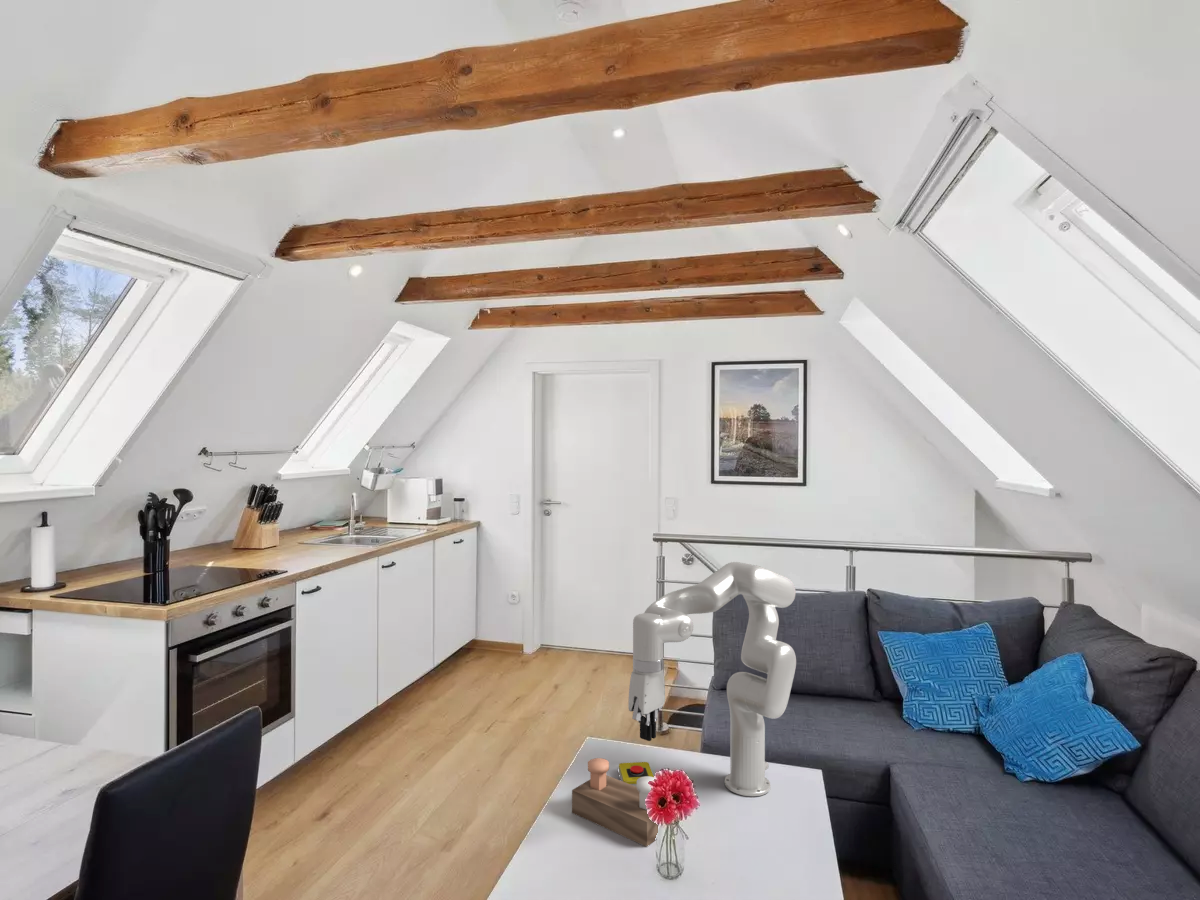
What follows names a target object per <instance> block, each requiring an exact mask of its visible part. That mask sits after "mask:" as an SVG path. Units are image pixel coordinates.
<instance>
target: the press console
mask: <svg viewBox="0 0 1200 900" xmlns="http://www.w3.org/2000/svg"><path fill="white" fill-rule="evenodd" d="M571 814H573V815H576V816H578V817H580V818H582V819H584V820H587V821H589V822H590V823H593V824H596V825H597V826H600V827H602V828H604V829H606V830H609V831H611V832H613V833H615V834H618V835H620V836H622V837H623V838H626V839H628V840H631V841H633V842H635V843H638V844H639V843H640V845H641V844H642V846H644V847H646V846H648V845H649V846H650V845H652V844H653V843H655V842H656V840H655V838H656V835H657V833H658V825H657V824H656V823H654V822H652V821H651V820H650V819H649V817H648V814H647V810H645V809H642V808H640V792H639V791H638V790H637V787H636V786H633V785H630V784H628V783H625V782H623V781H620V779H618V778H615V777H612V776H610V775H608V774H606V787H605V788H603V789H601V790H600V791H599V790H596V789H594V788H591V787H590V779H588V780H586V781H585V782H583V783H581V784H579V785H578V786H576V787H574V788H573V789H571ZM649 846H648V847H649Z"/></svg>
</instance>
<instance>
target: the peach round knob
mask: <svg viewBox="0 0 1200 900" xmlns="http://www.w3.org/2000/svg"><path fill="white" fill-rule="evenodd" d="M609 770H610V762H609V760H607V759H605V758H601V757H597V758H592V759H590V760H588V761H587V771H588V772H589V774H590V776H589V780H590V787H591V788H594V789H596V790H599V791H600V790H601V789H603V788H605V787H606V775H607V773H608V772H609Z"/></svg>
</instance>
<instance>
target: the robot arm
mask: <svg viewBox="0 0 1200 900" xmlns="http://www.w3.org/2000/svg"><path fill="white" fill-rule="evenodd" d="M796 591H797V590H796V587H795V584H794V582H792V580H791V578H788V577H786V576H785V575H782V574H780V573H777V572H774V571H772V570H770V569H768V568H766V567H762V566H759V565H757V564H756V565H755V564H750V563H746V562H739V561H731V562H728V563H726V564H724V565H722V566H721V567H720V568H719V569H718V570H715V572H713V573H712V574H711V575H709V576H707V577H706V578H704V579H703V580H702V581H700V582H699V583H697V584H694V585H690V586H687V587H683V588H681V589H677V590H674V591H671V592H668V593H666V594H664V595H663V596H661V597H660V598H658V599H656V600H655V601H654V602H653V603H651V604H650V605H649V606H648V607H647V608H646V609H645V610H644V612H643V613H639V614H636V615H635V616H634V617H633V621H632V671H631V674H630V680H629V685H628V686H629V688H628V689H629V690H628V705H627V706H628V711H629V712H633V713H632V720H634V721H637V722H638V723H639V738H640V739H641V740H644V741H647V742H651V741H652V739H656V738H657V721H658V715H659V712H660V711H661V709H662V708H663V705H665V700H666V684H665V683H666V682H665V674H664V644H665V643H680V642H681V643H682V642H684V641H686V640H688V639H690V637H691V635H692V634H693V632H694V623H693V619H692V618H691V617H690V616H689V615H695V614H696V615H697V614H699V615H700V614H709V613H715V612H717V611H719V610H720V609H721V608H722V607H724V606H725V605H726V604H728V603H729V602H730V601H732V600H733V599H735V598H736V597H737V596H739V595H742V597H743V599H744V600H745V603H746V605H747V608H748V613H749V615H748V622H747V626H746V631H745V635H744V639H743V644H742V647H741V651H740V660H741V662H742V663H743V664H744V665H745V666H746V667H748V668H750V669H752V670H755V671H757V672H760V673H764V674H766V675H767V677H766V678H765V677H763V676H760V675H756V674H753V673H751V672H747V671H737V672H735V673H733V674H732V675H731V676H730V677H729V679H728V680H727V683H726V696H727V701H728V702H727V703H728V707H729V715H730V717H729V718H730V720H729V722H730V724H729V725H730V727H729V729H730V730H729V731H730V736H729V737H730V738H729V739H730V740H729V741H730V743H729V744H730V748H729V749H730V751H729V752H730V754H729V757H730V760H729V761H730V763H729V764H730V765H729V767H730V770H729V774H727V775H726V776H725V778H724V786H725V787H726V788H727V790H729V791H730V792H732V793H734V794H736V795H738V796H739V795H740V796H743V797H761V796H764V795H766V794H768V793H769V791H770V790H771V782H770V781H769V779H768V778H767V777H766V776H765V775H766V773H765V772H766V770H768V769H769V767H770V765H769V763H768V762H767V761H766V760H765V759H766V739H765V738H766V734H765V733H766V724H765V720H764V717H765V718H768V719H773V720H774V719H775V720H776V719H778V718H780V717H782V716H783V714H784V712H785V711H786V709H787V708H788V707H787V706H788V703H789V699H790V695H791V690H792V687H793V682H794V677H795V672H796V667H797V657H796V653H795V650H794V648H793V647H792V646H791V645H790V644H789V643H786V642H783V641H780V640H777V635H778V629H779V623H780V619H779V618H780V617H779V614H778V611H777V609H776V608H779V609H781V608H782V609H784V608H788V607H789V606H790V605H792V603H793V602H794V600H795V598H796Z"/></svg>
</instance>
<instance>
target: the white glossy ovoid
mask: <svg viewBox="0 0 1200 900" xmlns="http://www.w3.org/2000/svg"><path fill="white" fill-rule="evenodd" d="M655 778H656V777H655V776H654V777H650V776H645V777H641V778H639V779H637V790H638V791H639V792H640V808H642V809H645V810H647V809H646V805H645V799H646V797H647V795H648V793H649V792H650V790H651V787H650V786H649V784H648V782H649V781H652V780H654V779H655Z"/></svg>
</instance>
